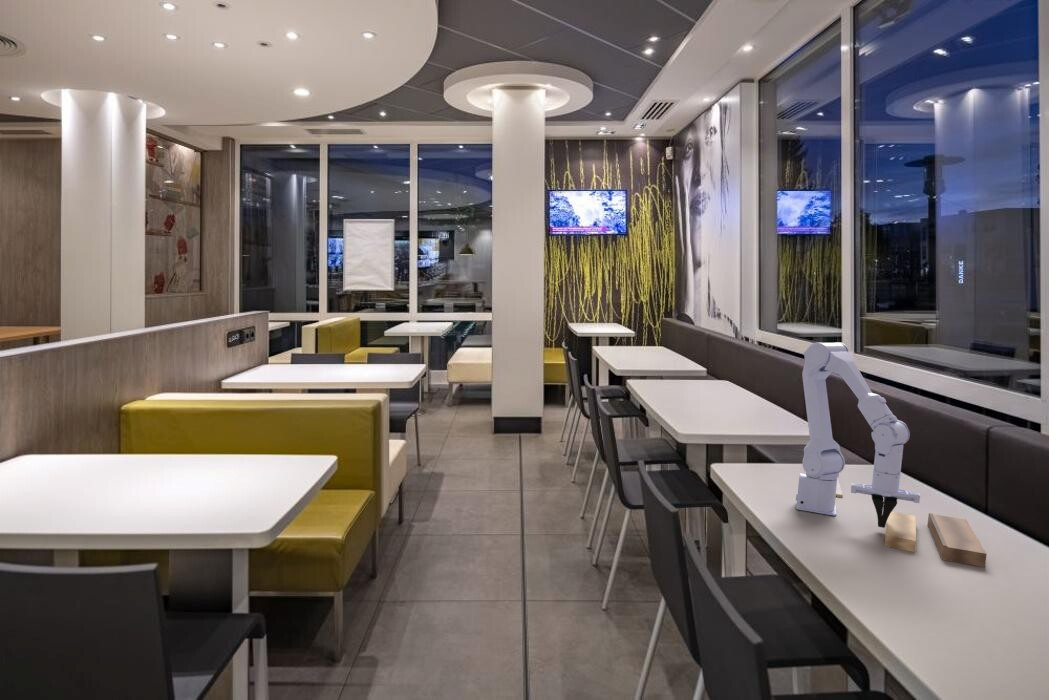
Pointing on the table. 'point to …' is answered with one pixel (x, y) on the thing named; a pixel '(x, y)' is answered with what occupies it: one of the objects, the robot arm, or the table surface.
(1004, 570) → the table surface
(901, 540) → the oak plank
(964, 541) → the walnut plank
